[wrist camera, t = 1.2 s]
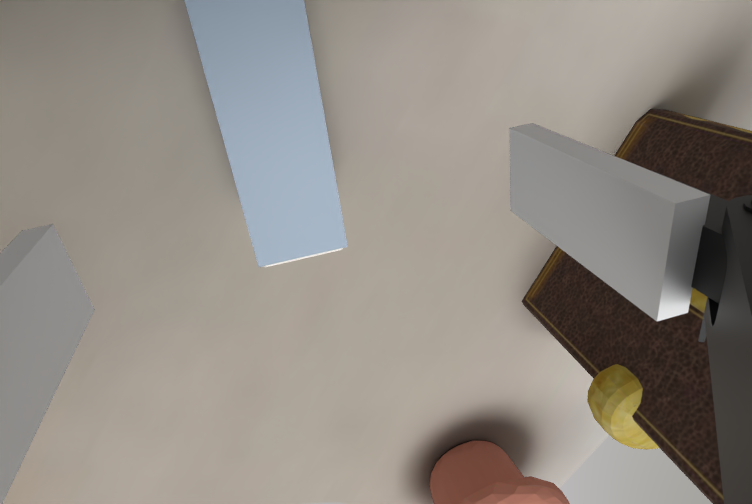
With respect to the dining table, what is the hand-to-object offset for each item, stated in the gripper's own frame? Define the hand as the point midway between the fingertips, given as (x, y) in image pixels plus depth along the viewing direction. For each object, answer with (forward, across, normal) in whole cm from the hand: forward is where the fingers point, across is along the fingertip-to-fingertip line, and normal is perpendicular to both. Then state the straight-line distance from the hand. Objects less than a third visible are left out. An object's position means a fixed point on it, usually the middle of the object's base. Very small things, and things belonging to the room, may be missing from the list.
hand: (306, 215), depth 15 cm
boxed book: (+20, 0, 0) cm, 20 cm away
